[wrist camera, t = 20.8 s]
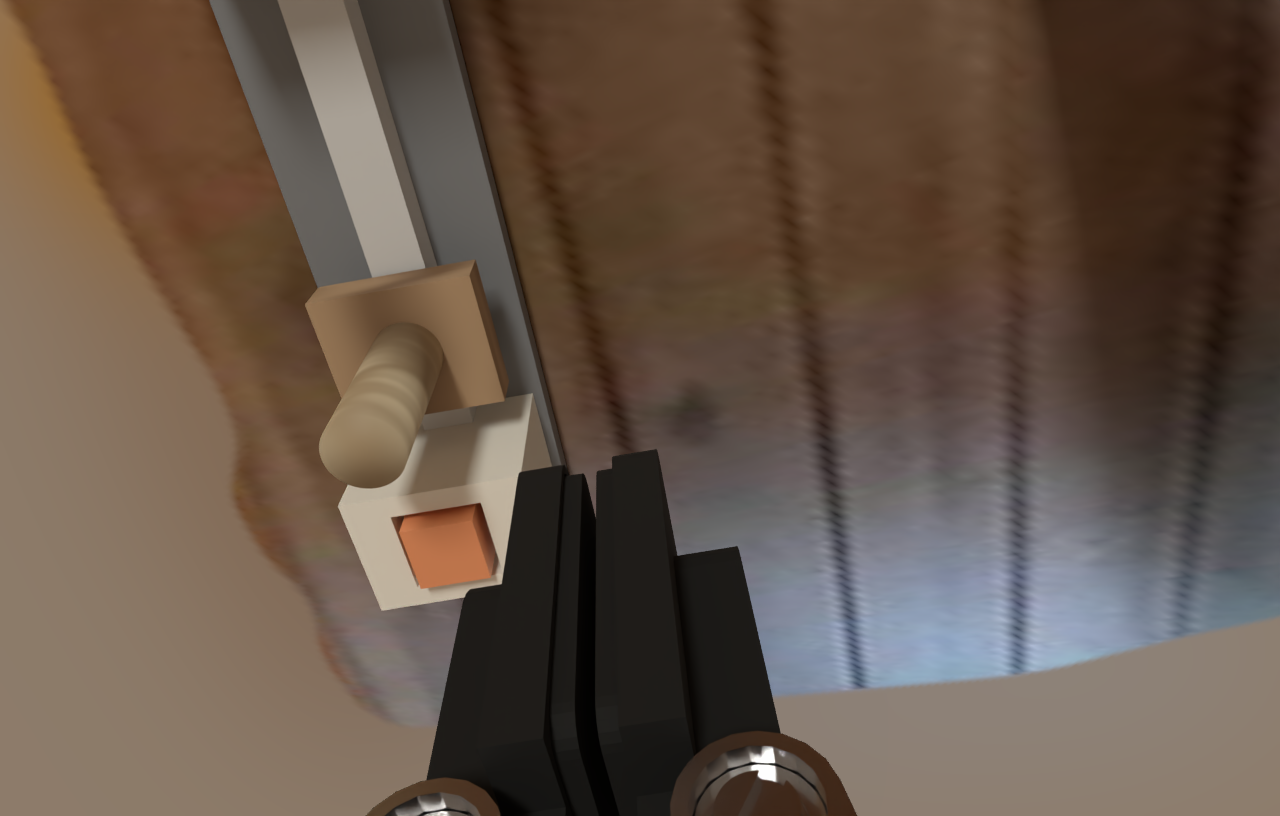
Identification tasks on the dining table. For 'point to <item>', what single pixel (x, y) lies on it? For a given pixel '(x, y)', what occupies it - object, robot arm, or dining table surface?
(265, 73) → the rail base
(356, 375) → the carriage
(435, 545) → the block
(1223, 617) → the dining table surface
